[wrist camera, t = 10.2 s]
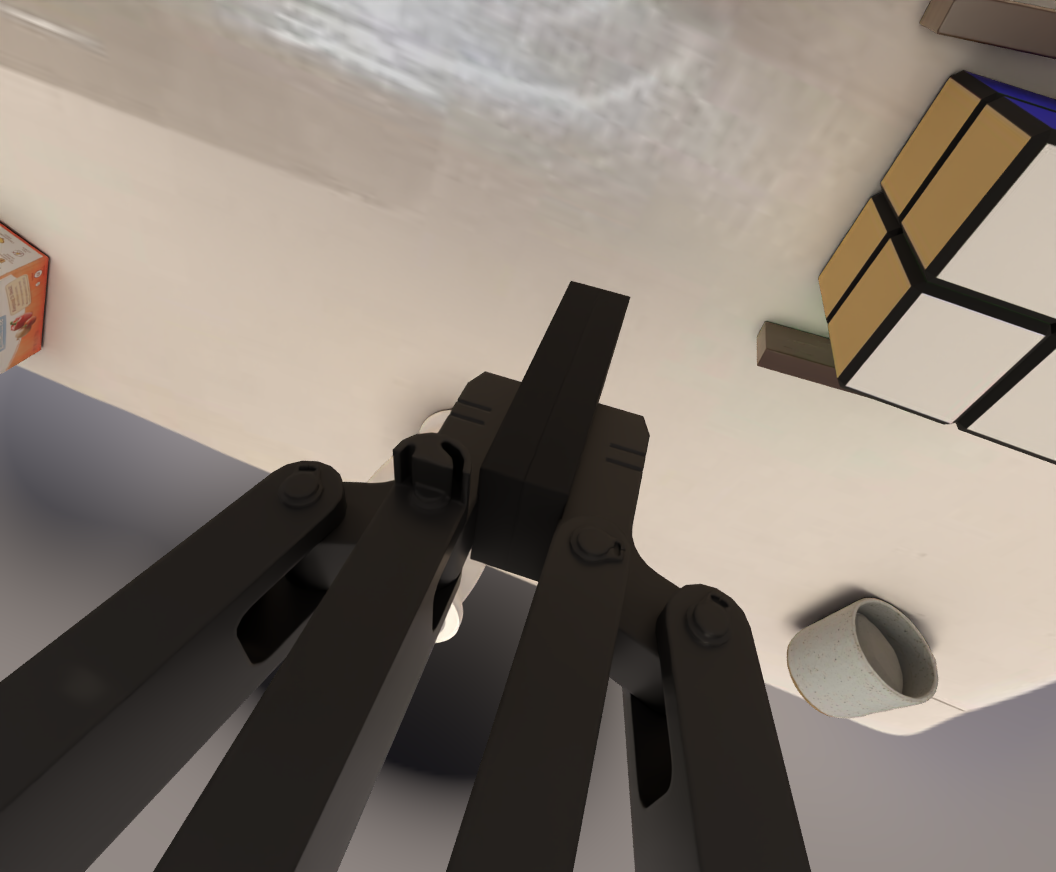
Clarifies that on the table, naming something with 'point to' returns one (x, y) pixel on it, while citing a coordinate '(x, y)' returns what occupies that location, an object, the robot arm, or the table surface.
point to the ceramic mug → (862, 661)
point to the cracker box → (20, 298)
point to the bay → (955, 10)
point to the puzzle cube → (958, 271)
